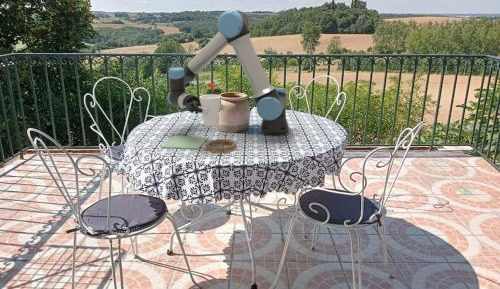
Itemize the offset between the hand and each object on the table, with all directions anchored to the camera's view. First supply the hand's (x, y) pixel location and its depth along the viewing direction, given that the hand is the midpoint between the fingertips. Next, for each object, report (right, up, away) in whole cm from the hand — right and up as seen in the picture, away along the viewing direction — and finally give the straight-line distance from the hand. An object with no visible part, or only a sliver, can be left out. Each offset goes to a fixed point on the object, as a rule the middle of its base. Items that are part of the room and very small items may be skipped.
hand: (216, 110), depth 175 cm
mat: (-16, -14, +16) cm, 27 cm away
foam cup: (-3, -6, +6) cm, 9 cm away
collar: (+1, -17, +7) cm, 19 cm away
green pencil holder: (-7, +2, +66) cm, 67 cm away
